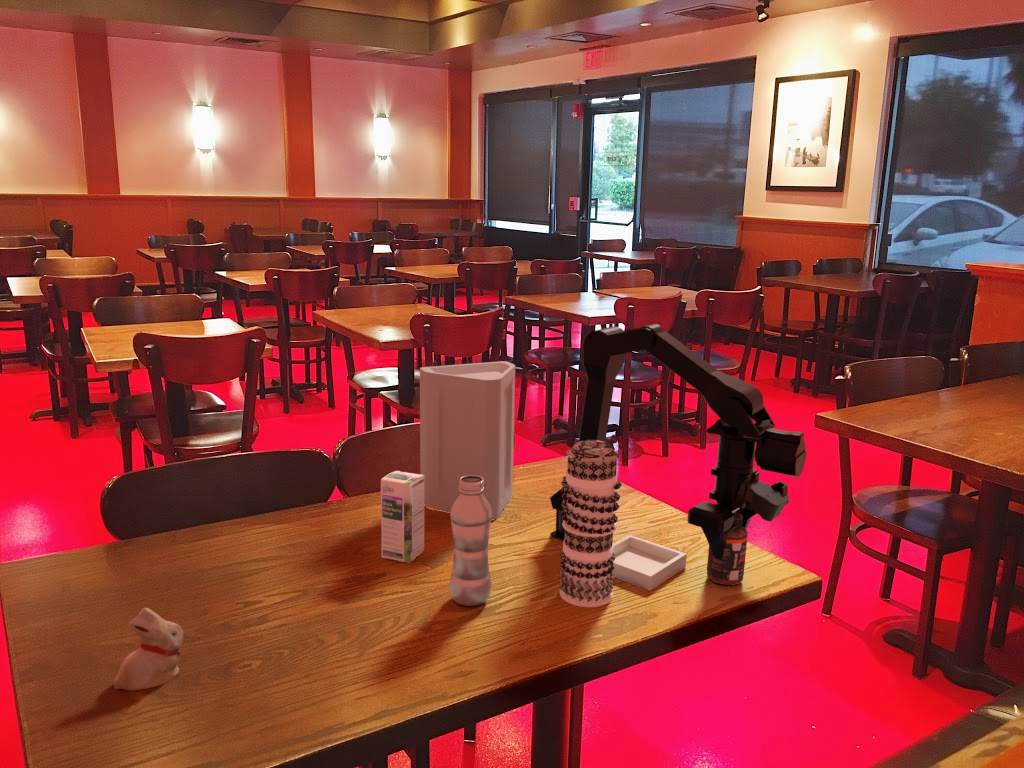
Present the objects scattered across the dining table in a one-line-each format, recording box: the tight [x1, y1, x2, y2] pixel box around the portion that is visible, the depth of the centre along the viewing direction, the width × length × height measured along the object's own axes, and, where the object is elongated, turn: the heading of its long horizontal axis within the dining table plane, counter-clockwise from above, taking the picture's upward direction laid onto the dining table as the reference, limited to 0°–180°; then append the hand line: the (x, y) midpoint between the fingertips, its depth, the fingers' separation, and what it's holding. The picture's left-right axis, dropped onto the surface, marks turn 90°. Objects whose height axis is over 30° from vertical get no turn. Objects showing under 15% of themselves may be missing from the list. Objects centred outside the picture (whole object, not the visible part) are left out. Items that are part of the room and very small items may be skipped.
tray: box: [612, 534, 687, 591], centre depth 140 cm, size 12×12×2 cm
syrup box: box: [380, 470, 425, 564], centre depth 141 cm, size 6×6×14 cm
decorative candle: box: [559, 440, 623, 608], centre depth 128 cm, size 9×9×25 cm
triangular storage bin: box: [419, 360, 516, 521], centre depth 162 cm, size 19×15×28 cm
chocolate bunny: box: [113, 607, 184, 692], centre depth 105 cm, size 6×8×10 cm
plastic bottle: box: [449, 475, 492, 607], centre depth 125 cm, size 6×7×20 cm
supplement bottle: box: [706, 512, 748, 586], centre depth 135 cm, size 6×6×11 cm
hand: (726, 553), depth 135 cm, fingers closed on supplement bottle, 6 cm apart
